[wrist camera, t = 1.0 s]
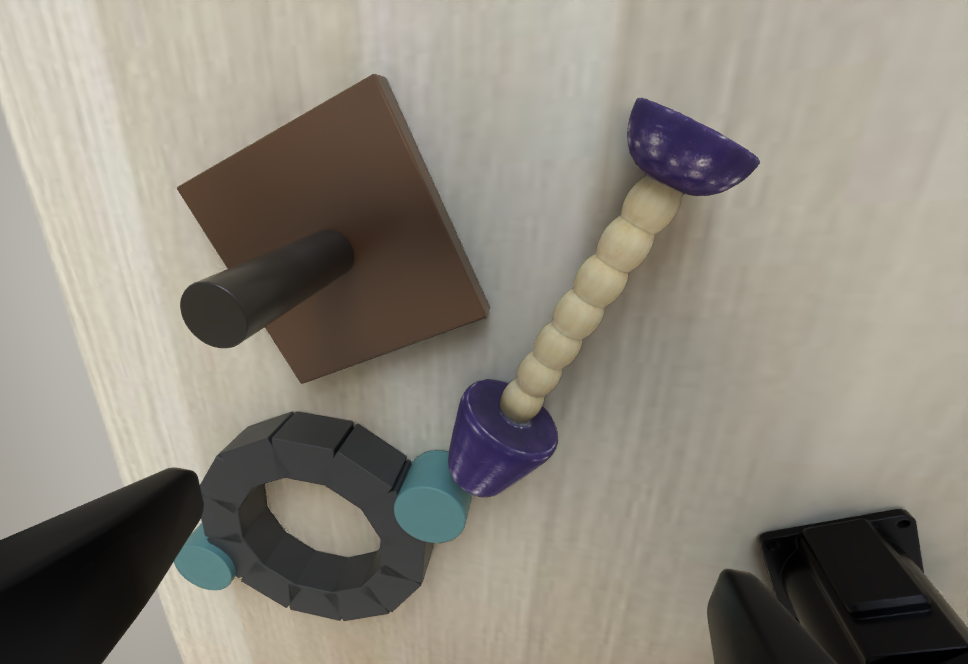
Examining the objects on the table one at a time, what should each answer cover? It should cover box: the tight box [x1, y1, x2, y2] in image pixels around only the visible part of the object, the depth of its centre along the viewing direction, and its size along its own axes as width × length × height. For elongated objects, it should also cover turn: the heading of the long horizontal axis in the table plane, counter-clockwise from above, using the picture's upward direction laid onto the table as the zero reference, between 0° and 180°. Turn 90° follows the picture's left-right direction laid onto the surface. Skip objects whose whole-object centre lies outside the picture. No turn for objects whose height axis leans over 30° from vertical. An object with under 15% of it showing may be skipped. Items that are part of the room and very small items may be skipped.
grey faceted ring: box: [174, 412, 472, 621], centre depth 26 cm, size 13×19×3 cm
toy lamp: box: [448, 98, 760, 497], centre depth 18 cm, size 5×5×17 cm
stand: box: [177, 74, 490, 384], centre depth 17 cm, size 10×10×8 cm
